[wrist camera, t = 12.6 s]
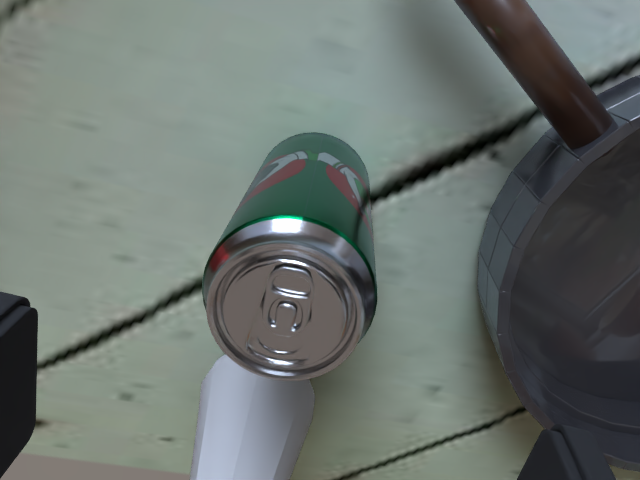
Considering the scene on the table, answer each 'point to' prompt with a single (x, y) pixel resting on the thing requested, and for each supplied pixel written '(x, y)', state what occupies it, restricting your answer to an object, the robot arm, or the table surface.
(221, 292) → the soda can
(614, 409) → the pan
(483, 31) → the pan handle
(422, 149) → the table surface
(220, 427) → the salt shaker
